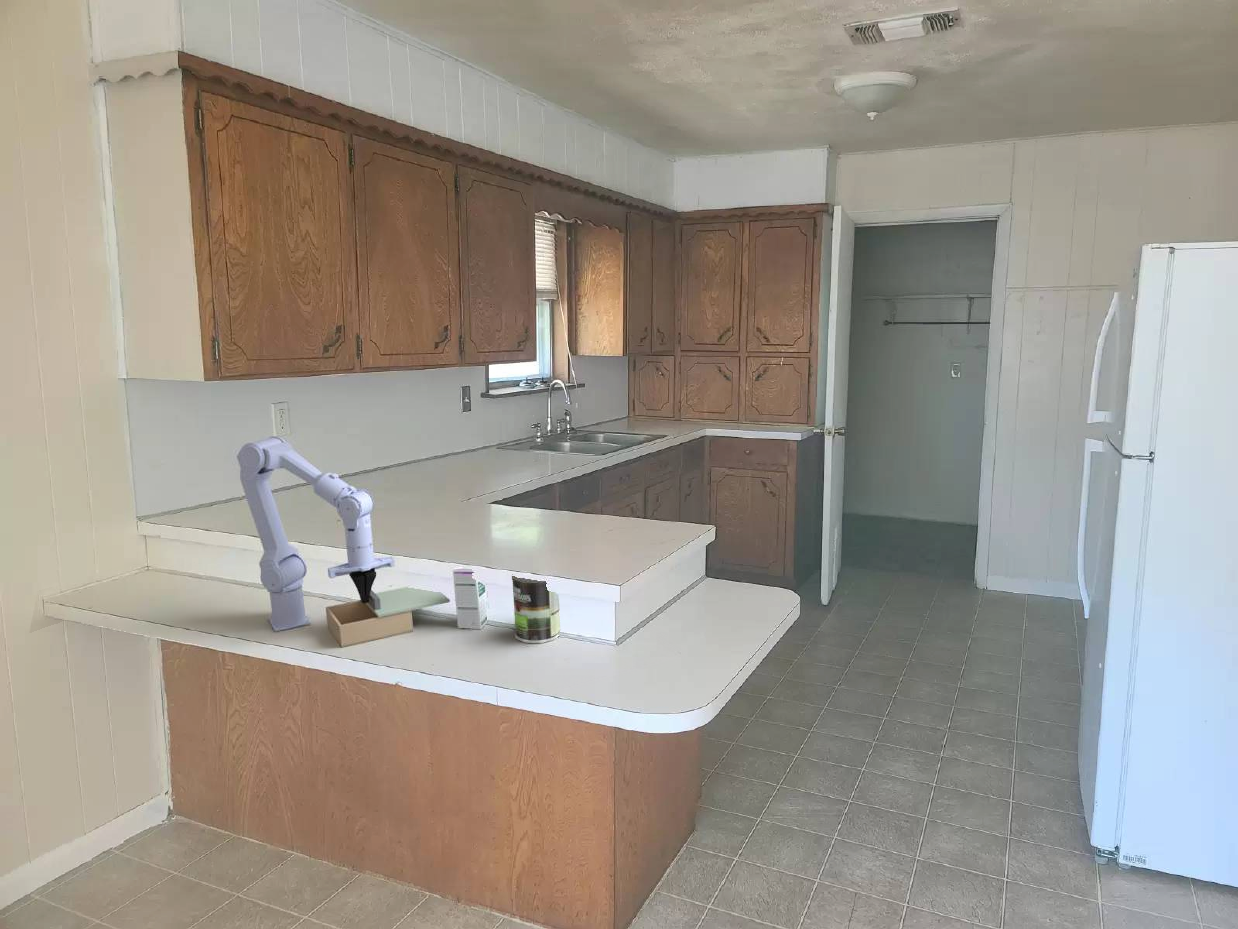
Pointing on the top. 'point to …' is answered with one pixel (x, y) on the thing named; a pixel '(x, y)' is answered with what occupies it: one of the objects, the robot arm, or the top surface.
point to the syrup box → (469, 599)
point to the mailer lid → (403, 600)
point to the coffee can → (535, 611)
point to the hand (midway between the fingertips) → (365, 601)
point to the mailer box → (364, 623)
